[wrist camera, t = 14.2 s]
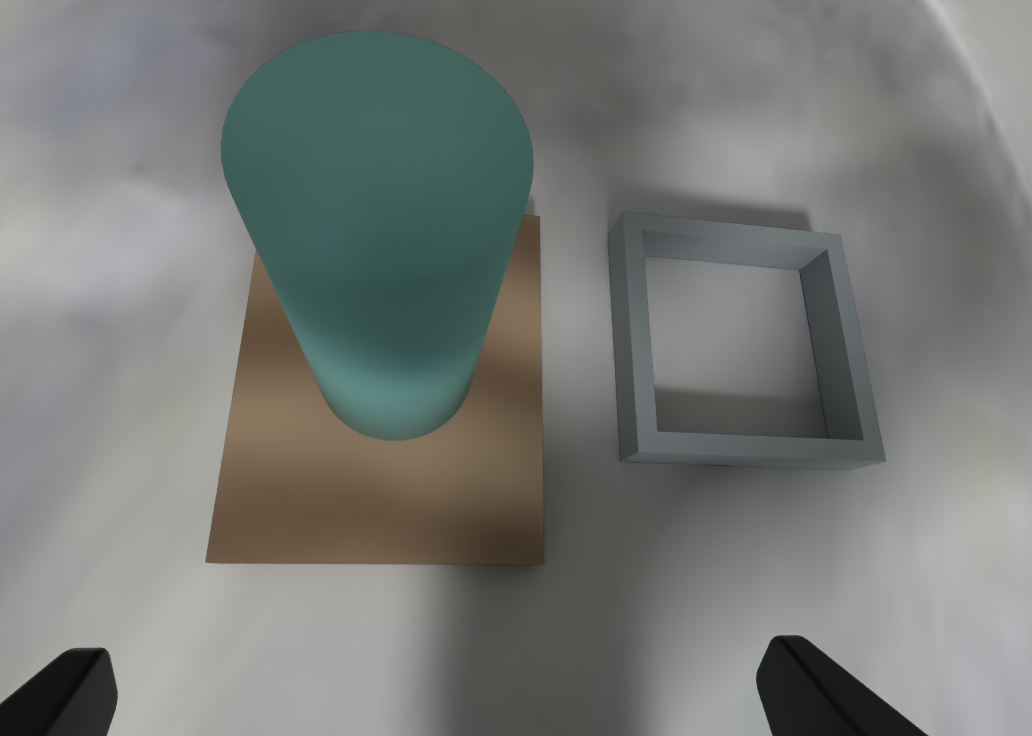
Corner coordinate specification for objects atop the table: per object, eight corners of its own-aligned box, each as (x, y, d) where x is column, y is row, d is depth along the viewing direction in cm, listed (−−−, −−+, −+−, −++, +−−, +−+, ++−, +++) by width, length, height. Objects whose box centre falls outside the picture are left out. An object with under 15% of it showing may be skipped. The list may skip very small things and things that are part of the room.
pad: (537, 564, 22) (544, 564, 21) (216, 563, 20) (205, 562, 19) (533, 231, 27) (539, 216, 25) (272, 206, 25) (266, 188, 24)
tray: (850, 469, 25) (886, 461, 24) (620, 461, 24) (638, 451, 22) (812, 256, 29) (840, 234, 27) (607, 236, 27) (622, 211, 25)
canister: (469, 444, 22) (533, 296, 11) (308, 437, 21) (192, 266, 10) (474, 304, 24) (533, 53, 12) (327, 291, 23) (248, 10, 12)
